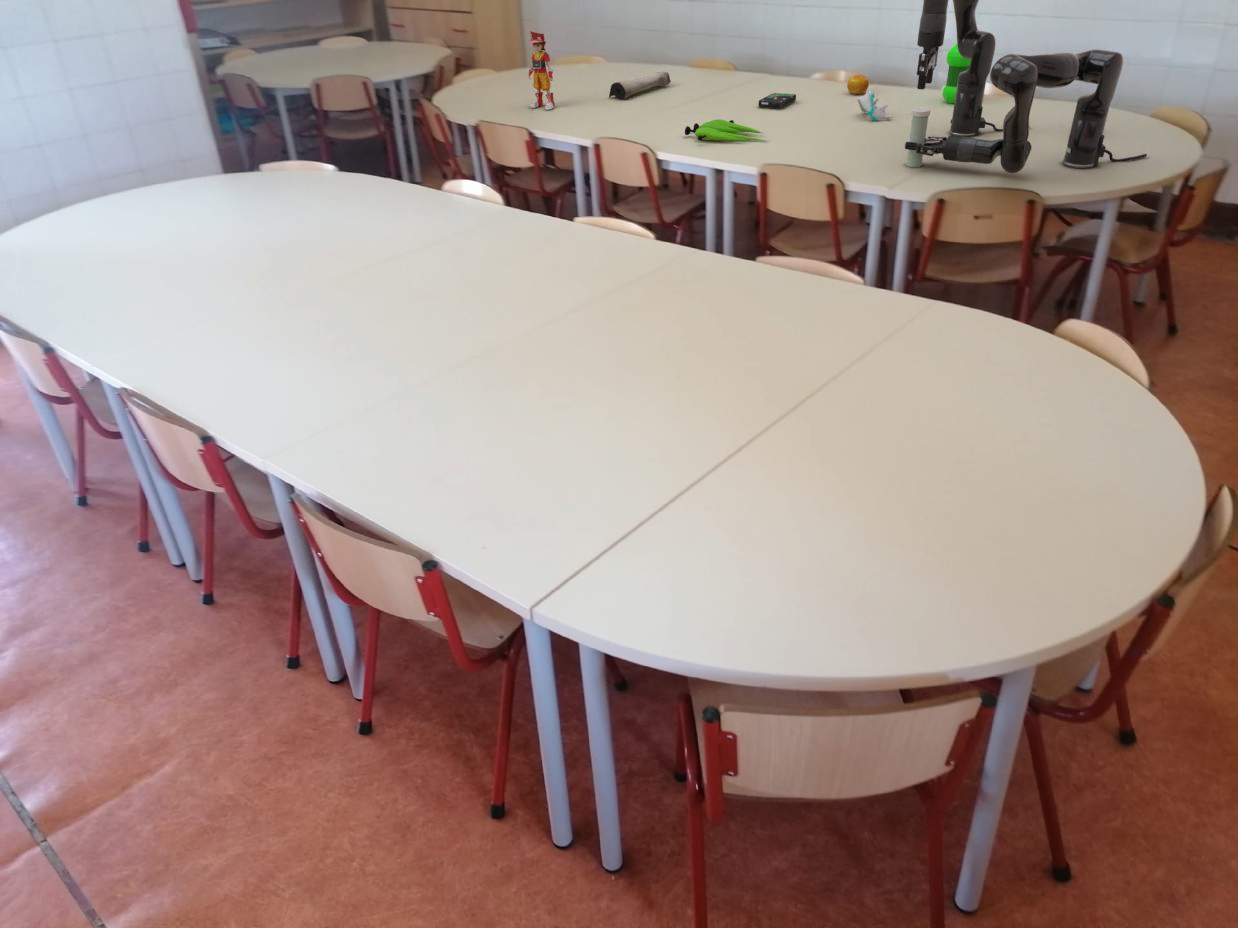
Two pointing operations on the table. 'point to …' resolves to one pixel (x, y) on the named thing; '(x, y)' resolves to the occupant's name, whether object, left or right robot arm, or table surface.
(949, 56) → the green dumbbell-shaped cylinder
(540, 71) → the toy
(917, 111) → the lid
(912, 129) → the jar
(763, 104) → the disk drive
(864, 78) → the fruit
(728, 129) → the toy
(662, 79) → the rolled mat
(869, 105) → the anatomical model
